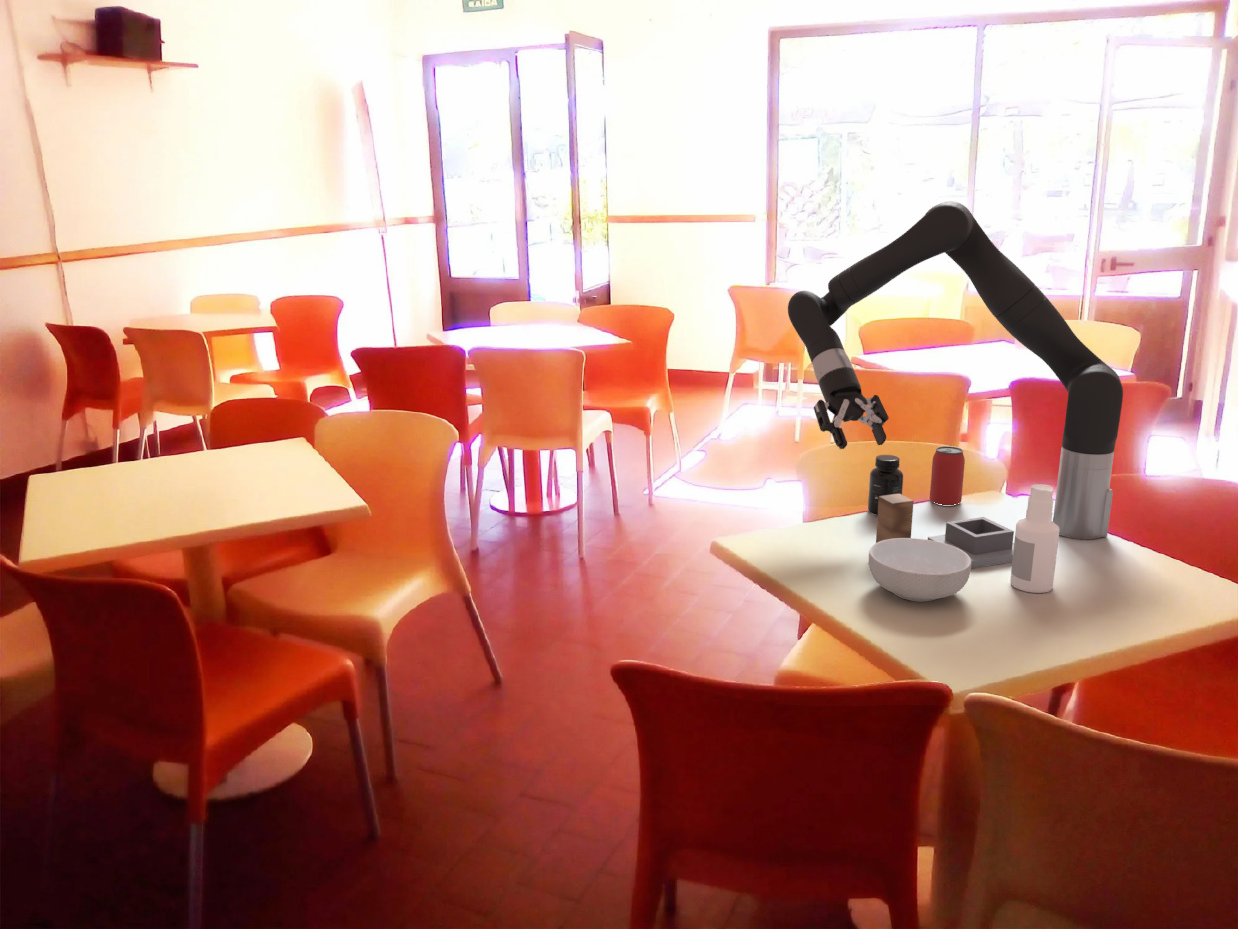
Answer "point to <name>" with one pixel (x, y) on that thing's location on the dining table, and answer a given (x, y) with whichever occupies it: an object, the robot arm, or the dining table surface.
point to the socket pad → (979, 540)
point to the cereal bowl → (919, 568)
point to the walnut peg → (894, 517)
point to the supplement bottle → (884, 480)
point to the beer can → (947, 475)
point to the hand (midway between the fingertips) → (863, 445)
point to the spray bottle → (1036, 544)
